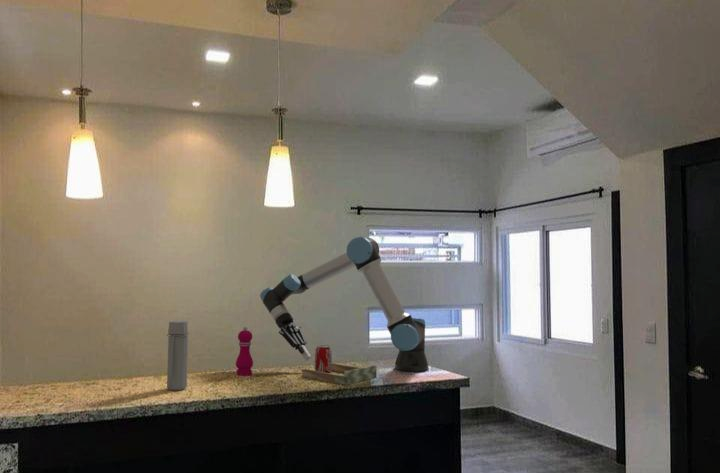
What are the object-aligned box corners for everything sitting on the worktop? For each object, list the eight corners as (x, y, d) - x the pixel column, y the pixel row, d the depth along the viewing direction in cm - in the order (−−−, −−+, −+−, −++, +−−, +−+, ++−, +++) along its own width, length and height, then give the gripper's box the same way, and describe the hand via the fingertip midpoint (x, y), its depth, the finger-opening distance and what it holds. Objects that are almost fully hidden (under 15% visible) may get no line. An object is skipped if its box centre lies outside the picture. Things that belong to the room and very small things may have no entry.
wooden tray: (332, 370, 274) (332, 358, 274) (376, 377, 259) (376, 365, 259) (301, 376, 258) (302, 364, 258) (346, 384, 243) (346, 371, 244)
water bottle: (171, 386, 234) (173, 320, 235) (191, 387, 233) (193, 320, 234) (159, 391, 225) (161, 322, 226) (179, 392, 224) (181, 323, 224)
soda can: (323, 376, 259) (324, 347, 260) (311, 374, 263) (311, 346, 264) (334, 374, 265) (335, 346, 265) (322, 372, 269) (322, 344, 269)
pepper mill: (233, 375, 257) (234, 327, 258) (237, 372, 264) (238, 325, 265) (250, 376, 257) (252, 327, 257) (254, 372, 264) (255, 325, 265)
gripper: (287, 321, 287) (313, 362, 276) (267, 323, 277) (293, 365, 266) (296, 310, 284) (322, 351, 273) (276, 312, 273) (302, 354, 263)
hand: (308, 358), depth 269 cm, fingers closed
